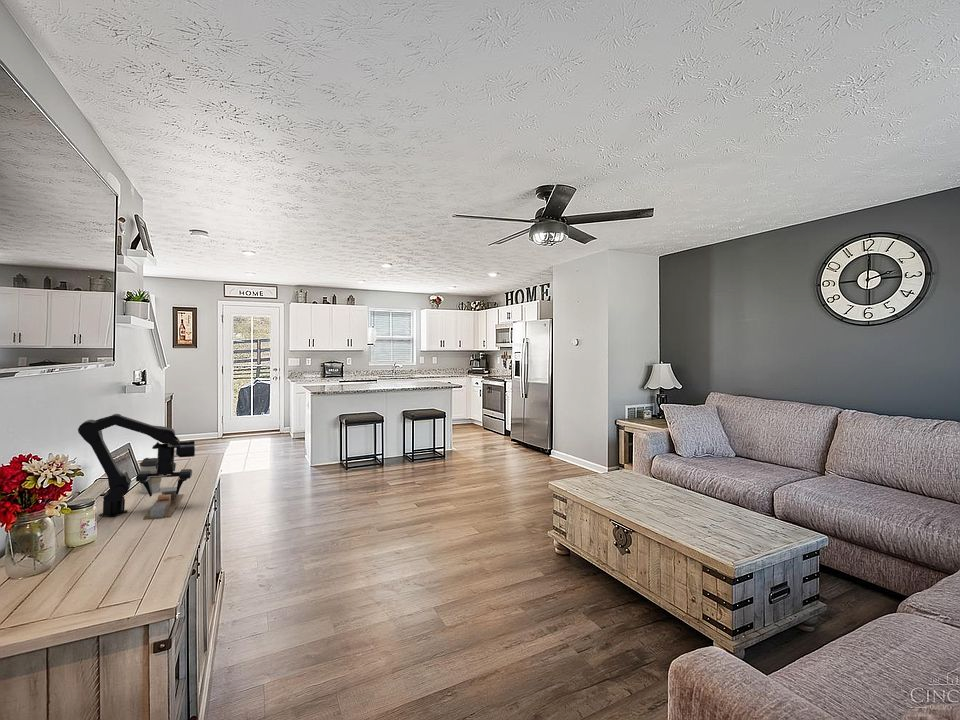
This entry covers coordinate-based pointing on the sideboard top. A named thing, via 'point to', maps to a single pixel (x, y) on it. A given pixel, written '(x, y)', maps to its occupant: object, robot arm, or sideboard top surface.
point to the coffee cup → (150, 465)
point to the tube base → (165, 505)
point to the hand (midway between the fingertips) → (164, 495)
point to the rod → (165, 498)
